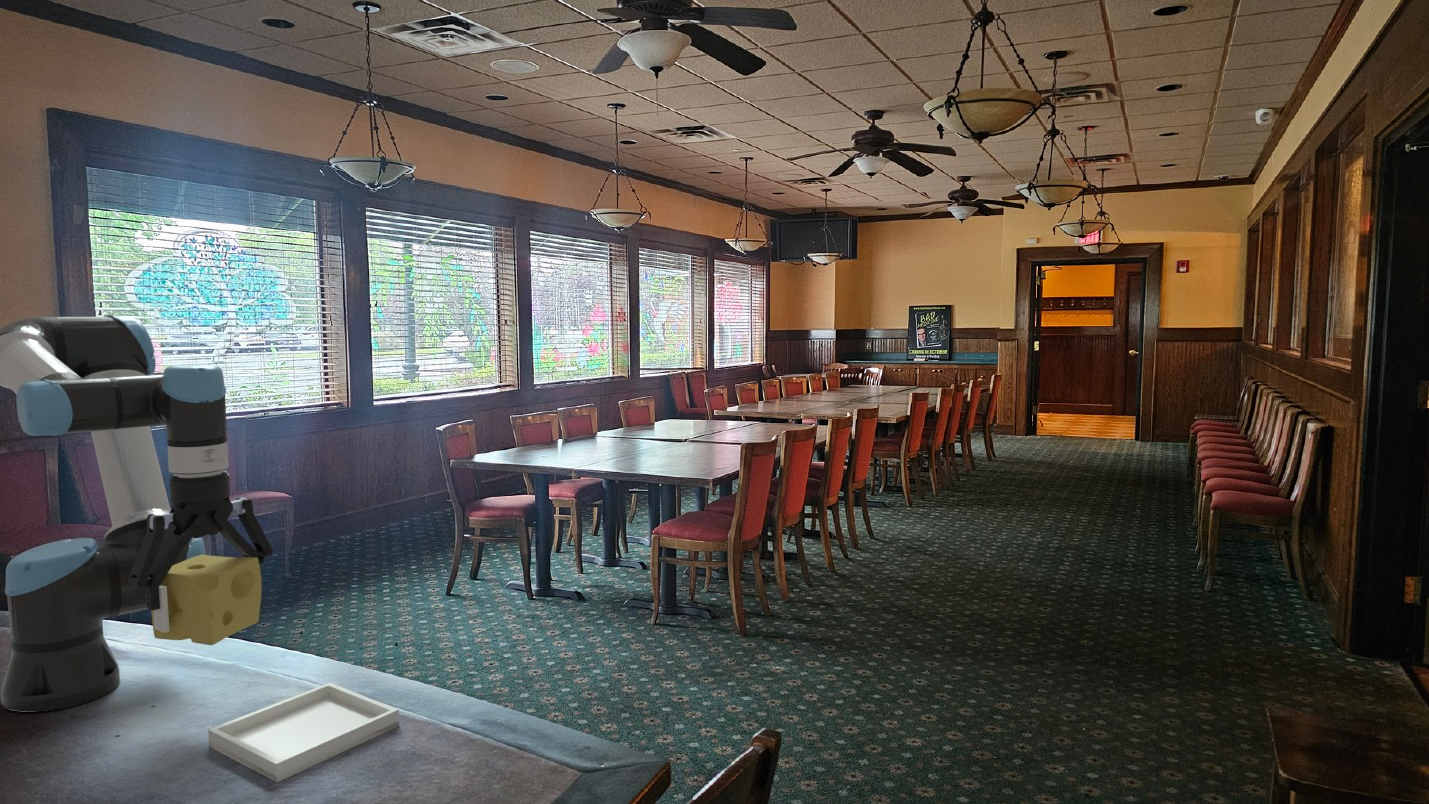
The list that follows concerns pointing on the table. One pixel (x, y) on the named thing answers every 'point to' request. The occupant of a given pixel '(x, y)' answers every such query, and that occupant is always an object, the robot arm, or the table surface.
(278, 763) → the serving tray
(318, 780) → the table surface
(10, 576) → the robot arm
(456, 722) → the table surface
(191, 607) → the cheese
